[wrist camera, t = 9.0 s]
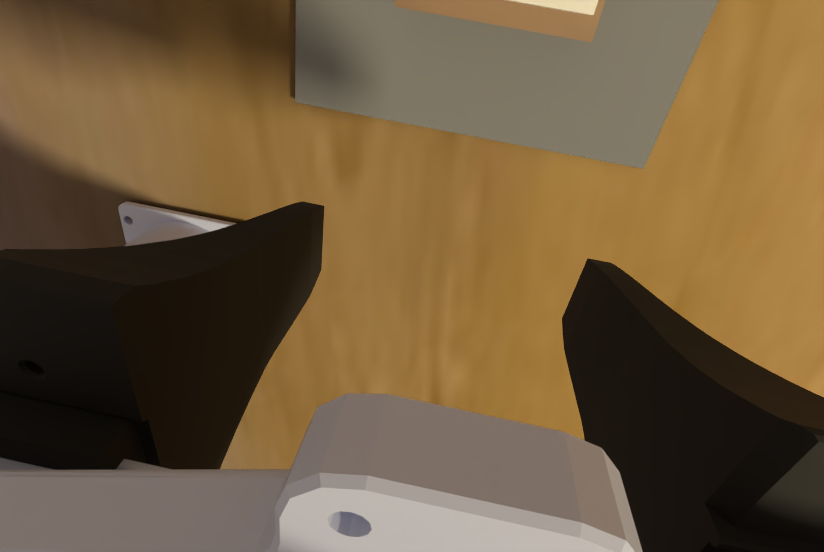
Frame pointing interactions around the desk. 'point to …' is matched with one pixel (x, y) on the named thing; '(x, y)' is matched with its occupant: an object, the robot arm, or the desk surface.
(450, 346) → the desk surface
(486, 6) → the walnut slab
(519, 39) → the mat
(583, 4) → the white slab
